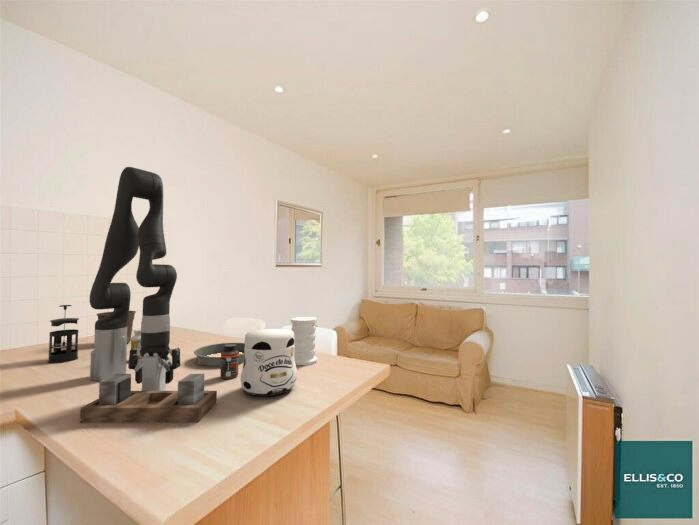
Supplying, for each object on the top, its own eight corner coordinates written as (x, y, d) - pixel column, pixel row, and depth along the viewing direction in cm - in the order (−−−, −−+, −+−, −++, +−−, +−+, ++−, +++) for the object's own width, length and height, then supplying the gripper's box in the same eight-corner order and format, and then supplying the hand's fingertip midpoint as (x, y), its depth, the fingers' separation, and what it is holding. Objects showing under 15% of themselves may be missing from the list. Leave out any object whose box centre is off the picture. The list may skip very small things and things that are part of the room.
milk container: (277, 404, 87) (278, 340, 88) (228, 395, 93) (229, 336, 94) (306, 384, 104) (306, 330, 104) (263, 377, 110) (263, 326, 110)
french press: (83, 358, 131) (85, 304, 132) (55, 364, 123) (57, 306, 123) (69, 355, 136) (71, 303, 137) (41, 360, 128) (43, 305, 128)
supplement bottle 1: (129, 359, 130) (130, 329, 131) (147, 356, 135) (148, 327, 135) (131, 363, 125) (132, 331, 126) (150, 360, 130) (151, 329, 130)
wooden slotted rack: (79, 422, 76) (81, 384, 76) (112, 403, 87) (114, 370, 87) (198, 422, 77) (199, 384, 77) (216, 403, 88) (217, 370, 88)
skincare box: (152, 391, 97) (153, 352, 97) (166, 390, 97) (167, 352, 97) (140, 398, 91) (141, 357, 91) (155, 398, 91) (157, 357, 91)
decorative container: (313, 356, 137) (313, 316, 138) (320, 364, 126) (320, 320, 127) (287, 359, 133) (287, 317, 134) (292, 366, 122) (292, 321, 123)
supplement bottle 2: (232, 380, 107) (232, 347, 107) (216, 379, 108) (217, 346, 108) (241, 374, 112) (242, 343, 113) (226, 373, 114) (227, 342, 114)
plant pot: (86, 346, 152) (87, 314, 152) (116, 339, 168) (117, 310, 168) (115, 348, 149) (116, 315, 149) (142, 341, 165) (143, 311, 165)
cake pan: (186, 370, 118) (186, 358, 118) (201, 353, 142) (201, 343, 142) (253, 366, 124) (253, 354, 124) (256, 350, 148) (257, 341, 148)
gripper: (123, 331, 90) (121, 387, 90) (172, 331, 91) (171, 387, 90) (140, 327, 98) (138, 378, 97) (185, 327, 98) (184, 378, 98)
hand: (154, 382), depth 94 cm, fingers open, 8 cm apart
